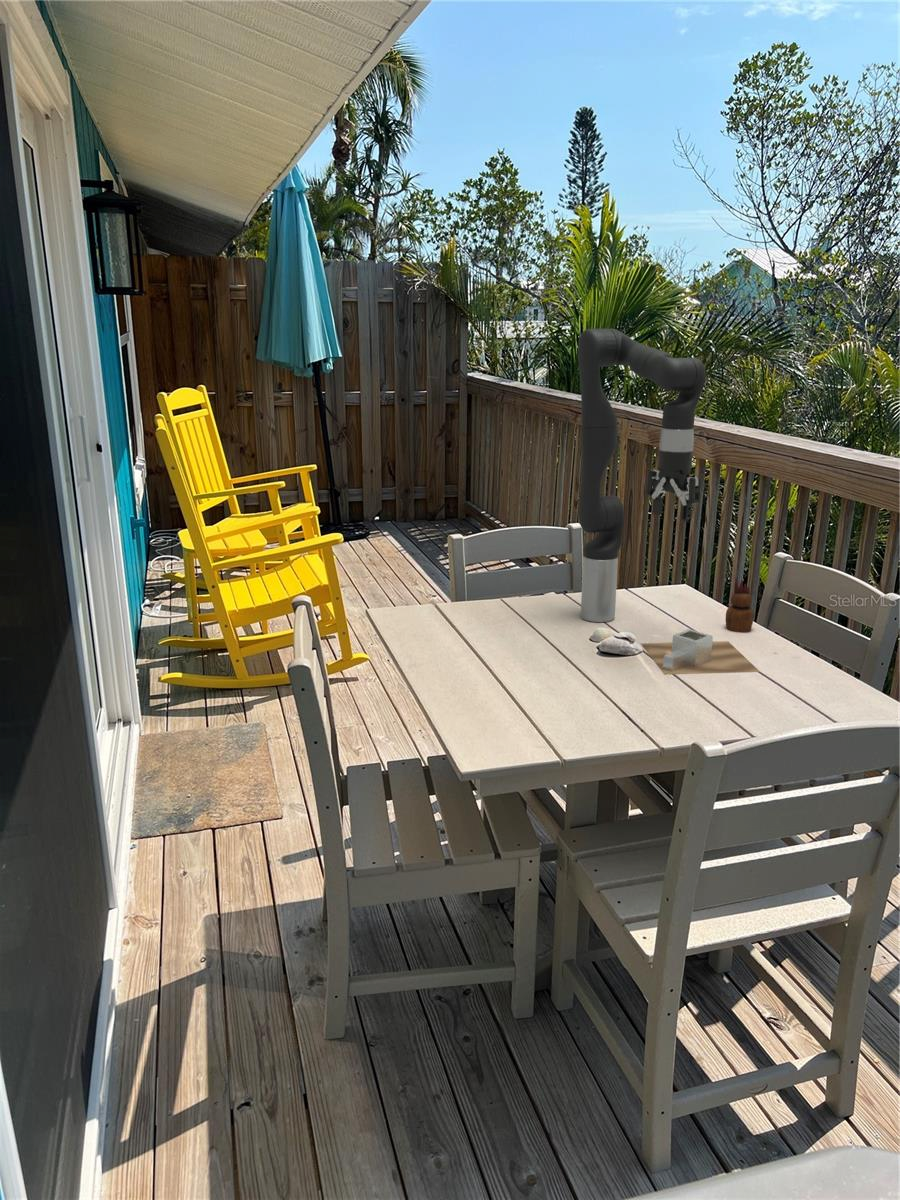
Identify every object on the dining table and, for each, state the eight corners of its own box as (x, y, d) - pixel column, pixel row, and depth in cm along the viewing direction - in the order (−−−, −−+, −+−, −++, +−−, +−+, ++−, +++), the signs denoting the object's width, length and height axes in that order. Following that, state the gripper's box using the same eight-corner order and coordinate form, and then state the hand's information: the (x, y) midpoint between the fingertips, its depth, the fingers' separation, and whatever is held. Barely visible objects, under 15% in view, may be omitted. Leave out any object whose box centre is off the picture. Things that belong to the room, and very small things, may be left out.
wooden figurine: (723, 636, 227) (728, 579, 223) (725, 629, 232) (730, 574, 228) (750, 639, 225) (756, 582, 220) (752, 632, 230) (758, 576, 225)
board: (640, 649, 218) (640, 643, 218) (727, 646, 220) (728, 641, 219) (663, 680, 199) (664, 674, 199) (759, 677, 201) (760, 671, 200)
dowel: (664, 663, 205) (665, 651, 204) (669, 663, 205) (670, 650, 204) (666, 665, 204) (667, 652, 203) (671, 664, 204) (672, 652, 203)
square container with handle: (687, 652, 212) (689, 629, 210) (710, 660, 207) (712, 635, 205) (655, 665, 204) (657, 641, 202) (679, 673, 199) (681, 648, 197)
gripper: (711, 450, 199) (705, 521, 204) (664, 443, 210) (659, 510, 215) (688, 453, 195) (683, 525, 200) (641, 446, 207) (637, 514, 211)
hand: (670, 517), depth 208 cm, fingers open, 8 cm apart
